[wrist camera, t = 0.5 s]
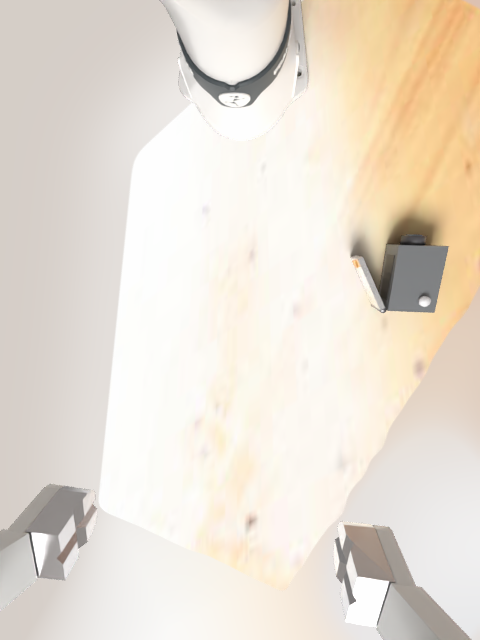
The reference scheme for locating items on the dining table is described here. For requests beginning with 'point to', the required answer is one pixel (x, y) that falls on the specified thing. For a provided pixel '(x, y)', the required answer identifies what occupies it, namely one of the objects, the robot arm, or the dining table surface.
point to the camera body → (412, 275)
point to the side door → (368, 283)
